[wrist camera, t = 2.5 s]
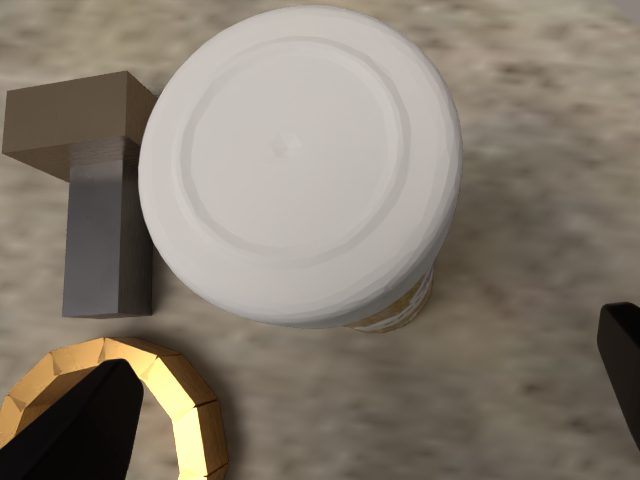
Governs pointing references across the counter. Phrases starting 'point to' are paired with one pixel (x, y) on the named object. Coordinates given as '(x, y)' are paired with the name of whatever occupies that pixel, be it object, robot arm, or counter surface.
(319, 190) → the sprinkles bottle
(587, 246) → the counter surface
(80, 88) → the coupling jig
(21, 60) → the counter surface
